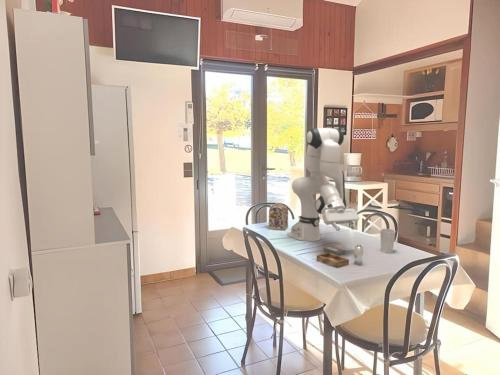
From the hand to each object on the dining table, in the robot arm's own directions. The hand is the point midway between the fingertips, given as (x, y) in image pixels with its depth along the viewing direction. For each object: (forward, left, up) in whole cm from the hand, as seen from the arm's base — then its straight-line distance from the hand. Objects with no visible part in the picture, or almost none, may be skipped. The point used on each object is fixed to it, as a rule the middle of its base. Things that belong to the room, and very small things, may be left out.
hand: (346, 229), depth 195 cm
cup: (+7, +27, -15) cm, 32 cm away
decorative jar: (-70, +14, -15) cm, 73 cm away
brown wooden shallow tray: (+2, -13, -15) cm, 20 cm away
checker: (-8, 0, -15) cm, 17 cm away
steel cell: (+11, -4, -15) cm, 19 cm away
